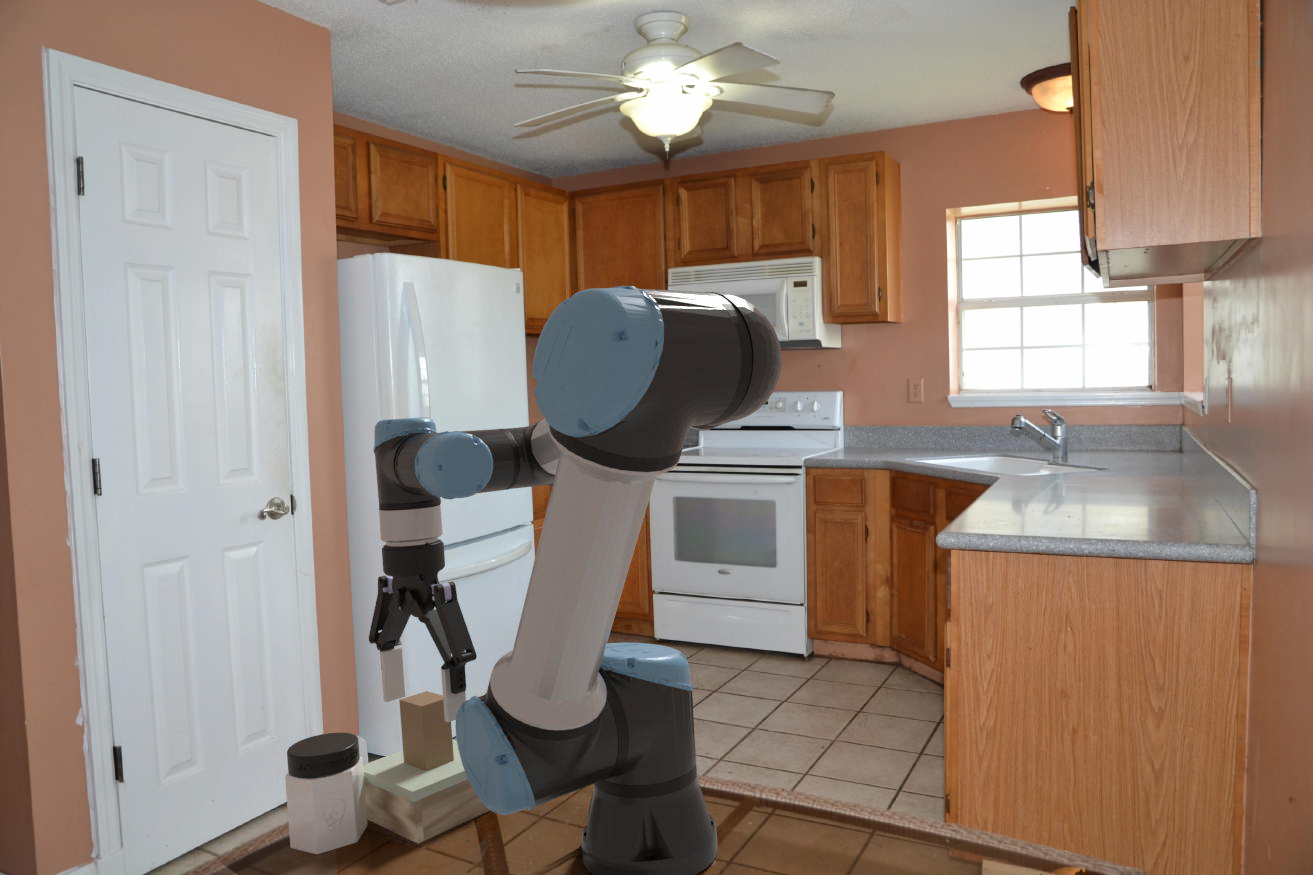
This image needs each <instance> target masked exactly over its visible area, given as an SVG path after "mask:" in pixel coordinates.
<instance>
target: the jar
mask: <svg viewBox="0 0 1313 875" xmlns="http://www.w3.org/2000/svg"><path fill="white" fill-rule="evenodd" d="M286 756H287V757H286V758H287V770H288V772H287V773H286V774H285V776H284V779H285V780H284V782H285V793H286V805H287V806H286V807H287V819H288V833H289V844H290V845H289V846H290V849H293V850H299V851H302V852H305V853H310V854H315V855H318V854H319V855H320V854H323V853H326V852H329V851H333V850H335V849H339V848H342V847H346V846H349V845H353V844H355V843H358V842H359V840H360V839H361V837H362V835H363V834H364V833H365V830H366V829H367V827H368V823H369V822H368V820H367V809H366V796H365V782H364V769H363V765H364V760H363V758H364V757H363V756H362V755H360V744H359V738H358V736H357V735H355V734H354V733H349V732H328V733H322V734H318V735H313V736H309V737H306V738H303V739H301V740H299V741H297V742H295V743H293V744H292V745H290V746H289V747H288V748H287V751H286Z"/></svg>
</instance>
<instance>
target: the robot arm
mask: <svg viewBox="0 0 1313 875" xmlns="http://www.w3.org/2000/svg"><path fill="white" fill-rule="evenodd" d="M782 358H783V353H782V348H781V343H780V340H779V337H778V334H777V332H776V330H775V328H774V326H773V325H772V323H771V322H770V320H769V319H768V317H767V316H766V315H765V314H764V313H763V312H762V311H761V310H760V309H759V308H758V307H757V306H755V305H754V304H752V303H750V302H749V301H747V300H746V299H744V298H741V297H739V296H737V295H733V294H729V293H725V292H720V291H719V292H718V291H717V292H716V291H703V292H702V291H691V290H689V291H686V290H671V289H650V288H638V287H636V286H634V285H618V286H611V287H601V288H600V287H599V288H597V287H596V288H594V287H593V288H587V289H584V290H580V291H577V292H576V293H574V294H573V295H572V296H570V297H568V298H566V299H565V300H564V301H562V302H561V303H560V304H558V305H557V306H556V308H555V309H554V310H553V311H552V313H551V314H550V315H549V317H548V319H547V321H546V322H545V324H544V325H543V328H542V330H541V332H540V335H539V337H538V340H537V344H536V347H535V351H534V356H533V363H532V379H533V380H536V383H537V384H536V386H535V387H534V389H533V392H534V394H533V395H534V398H535V401H536V405H537V407H538V410H539V411H540V414H541V416H542V417H543V419H542V420H539V421H537V422H535V423H533V424H531V425H527V426H521V427H510V428H495V429H493V428H492V429H479V430H478V429H477V430H464V431H463V430H460V431H459V430H455V431H447V430H446V431H442V432H437V428H436V423H435V422H434V419H433V418H431V417H411V418H410V417H408V418H407V417H406V418H394V419H393V418H391V419H381V420H379V421H378V422H376V424H375V425H374V445H373V453H374V459H375V471H376V472H375V474H376V482H377V496H378V514H379V515H378V517H379V531H380V540H381V541H382V542H383V543H385V544H384V545H383V547H381V557H382V559H381V560H382V571H383V574H385V575H381V576H378V578H377V596H376V600H375V601H376V602H375V606H374V609H373V614H372V618H371V619H372V620H371V625H370V628H369V634H368V641H369V643H370V644H375V645H376V649H377V650H378V651H379V656H380V670H381V679H382V680H381V682H382V683H381V684H382V693H383V695H382V696H383V702H385V703H389V702H392V701H395V700H398V699H399V700H400V699H403V698H406V689H405V688H406V687H405V675H404V674H405V673H404V663H403V662H404V661H403V647H400V646H402V645H403V643H402V641H401V638H402V635H403V633H404V631H405V628H406V627H407V624H408V622H409V619H410V617H411V616H412V617H414V618H417V619H418V621H419V622H421V623H422V624H424V625H425V627H426V629H427V630H428V632H429V634H430V637H431V640H432V641H433V642H434V645H435V646H436V649H437V650H438V653H439V655H440V657H441V659H442V661H443V664H442V666H441V667H440V671H441V672H440V673H441V674H440V675H441V687H442V695H443V704H444V719H445V721H446V722H451V723H452V722H453V721H455V726H454V727H455V737H456V739H455V740H457V745H458V750H459V754H460V757H461V761H462V764H463V767H464V770H465V772H466V775H467V777H468V780H469V782H470V784H471V786H472V788H473V790H474V791H475V793H476V795H477V796H478V798H479V799H480V800H481V802H482V803H483V804H484V805H485V806H486V807H487V808H488V809H489V810H491V811H490V812H492V813H495V814H497V815H502V816H508V815H513V814H515V813H518V812H522V811H525V810H529V811H530V810H532V811H533V809H535V808H536V807H538V806H540V805H543V804H545V803H548V802H551V801H553V800H556V799H558V798H561V797H563V796H566V795H569V794H572V793H574V792H576V791H579V790H581V789H584V788H586V787H589V786H591V785H593V791H592V795H591V799H590V803H589V807H588V813H587V819H586V825H585V826H584V829H583V831H582V836H581V853H582V862H583V865H584V867H585V869H586V870H587V871H588V872H589V873H590V874H591V875H698V874H699V873H702V871H704V870H705V869H707V868H708V867H709V866H710V865H711V864H712V863H713V862H714V860H715V859H716V857H717V855H718V848H719V847H718V845H719V844H718V833H717V827H716V826H717V825H716V823H715V822H714V819H713V817H712V816H711V814H710V813H709V809H708V806H707V803H706V800H705V796H704V794H703V793H704V792H703V791H702V789H701V785H700V783H699V780H698V769H697V753H696V738H695V722H694V719H695V718H694V702H693V701H694V700H693V697H694V696H693V691H694V686H693V685H692V681H691V673H690V672H691V671H690V665H689V661H688V658H687V657H686V656H685V654H683V652H681V651H680V650H678V649H676V648H673V647H671V646H666V645H662V644H653V643H646V642H645V643H643V642H611V643H608V640H609V638H610V636H611V630H612V627H613V624H614V620H615V617H616V613H617V611H618V608H619V603H620V600H621V596H622V593H623V590H624V586H625V582H626V580H627V576H628V573H629V570H630V567H631V564H632V563H631V562H632V560H633V556H634V553H635V548H636V546H637V543H638V539H639V536H640V533H641V529H642V526H643V522H644V518H645V515H646V512H647V508H648V505H649V501H650V497H651V494H652V491H653V488H654V485H655V481H656V479H657V476H661V475H662V474H666V473H667V472H670V471H672V470H673V469H674V468H676V466H677V465H678V464H679V461H680V458H681V457H682V456H681V455H682V453H683V449H684V446H685V443H686V440H687V436H688V433H689V431H690V429H693V430H697V431H707V430H708V431H709V430H711V429H714V428H717V427H720V426H722V425H724V424H729V423H731V422H734V421H735V422H736V421H738V420H742V419H744V418H747V417H749V416H751V415H752V414H754V413H755V412H757V411H758V410H760V409H761V407H763V406H764V405H765V404H766V403H767V402H768V401H769V399H770V398H771V396H772V395H773V393H774V391H775V390H776V386H777V384H778V383H779V380H780V376H781V370H782V360H783V359H782ZM541 486H549V487H551V490H550V491H551V492H550V496H549V497H548V498H549V499H548V503H547V507H546V512H545V516H544V519H543V523H542V527H541V532H540V537H539V541H538V544H537V549H536V552H535V553H536V554H535V557H534V561H533V566H532V568H531V573H530V578H529V582H528V587H527V590H526V594H525V598H524V602H523V608H522V612H521V615H520V619H519V623H518V626H517V627H518V628H517V632H516V636H515V640H514V644H513V648H512V650H511V651H509V652H507V653H505V654H504V655H502V656H501V657H500V658H499V659H497V662H495V664H494V665H493V668H492V671H491V673H490V677H489V682H488V685H487V690H486V693H484V694H483V695H480V696H477V695H474V696H471V697H469V698H470V699H467V697H466V695H467V694H466V691H467V680H466V679H467V678H466V664H467V663H469V662H473V661H475V660H476V659H477V657H478V656H477V652H476V649H475V646H474V644H473V641H472V638H471V635H470V631H469V630H468V626H467V622H466V620H465V618H464V615H463V613H462V610H461V606H460V603H459V600H458V593H457V586H456V583H455V581H448V582H444V583H440V581H439V577H438V575H439V572H440V571H442V570H444V568H445V566H446V559H445V546H444V545H445V543H444V542H443V541H442V539H440V537H441V536H442V535H443V522H442V519H443V518H442V509H441V508H442V506H441V503H442V499H444V500H454V499H464V498H470V497H472V496H475V495H477V494H483V493H484V494H485V493H491V492H500V491H501V492H502V491H506V490H512V489H523V488H532V487H541ZM379 631H380V632H379Z"/></svg>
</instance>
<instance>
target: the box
mask: <svg viewBox="0 0 1313 875" xmlns="http://www.w3.org/2000/svg"><path fill="white" fill-rule="evenodd" d="M364 782H365V796H366V809H367V821H370V822H372V823H374V824H376V825H378V826H380V827H381V828H384V829H386V830H388V831H390V832H393V833H394V834H397V835H399V836H401V837H402V838H405V839H407V840H409V841H411V842H414V843H415V844H417V845H419V844H422V843H423V842H426V841H429V839H432V838H434V837H436V836H439V835H441V834H443V833H445V832H447V831H449V830H451V829H453V828H456V827H458V826H459V825H462V824H464V823H467V822H469V821H472V820H474V819H475V818H477V817H479V816H483V815H484V814H487V813H488V812H492V811H491V810H489V809H488V808H487V807H486V806H485V805H484V804H483V803H482V802H481V800H480V799H479V798H478V796H477V795H476V793H475V791H474V790H473V788H472V786H471V784H470V782H469V780H468V779H467V780H465V781H463V782H460V783H458V784H455V785H453V786H451V787H448V788H446V789H443V790H441V791H439V792H436V793H434V794H432V795H429V796H427V797H424V798H422V799H420V800H417V801H415V802H412V801H410V800H408V799H405V798H403V797H401V796H398V795H396V794H394V793H391V792H389V791H387V790H384V789H382V788H380V787H377V786H375V785H373V784H370V783H368V782H366V781H364Z"/></svg>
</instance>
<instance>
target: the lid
mask: <svg viewBox="0 0 1313 875" xmlns="http://www.w3.org/2000/svg"><path fill="white" fill-rule="evenodd" d="M399 714H400V726H401V727H400V728H401V740H402V742H401V743H402V750H400V751H397V752H394V753H391V754H389V755H386V756H384V757H381V758H378V759H375V760H373V761H369V762H368V763H367V762H366V763H363V769H364V781H366V782H368V783H370V784H373V785H375V786H377V787H380V788H382V789H384V790H387V791H389V792H391V793H394V794H396V795H398V796H401V797H403V798H405V799H408V800H410V801H412V802H415V801H417V800H420V799H422V798H424V797H427V796H429V795H432V794H434V793H436V792H439V791H441V790H443V789H446V788H448V787H451V786H453V785H455V784H458V783H460V782H463V781H465V780H467V779H468V777H467V775H466V772H465V770H464V767H463V764H462V761H461V757H460V754H459V750H458V745H457V739H454V738H453V731H452V721H451V722H446V721H445V719H444V704H443V694H438V693H435V692H432V691H428V690H426V691H422V692H419V693H417V694H414V695H410V696H407V697H402V698H399Z"/></svg>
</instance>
